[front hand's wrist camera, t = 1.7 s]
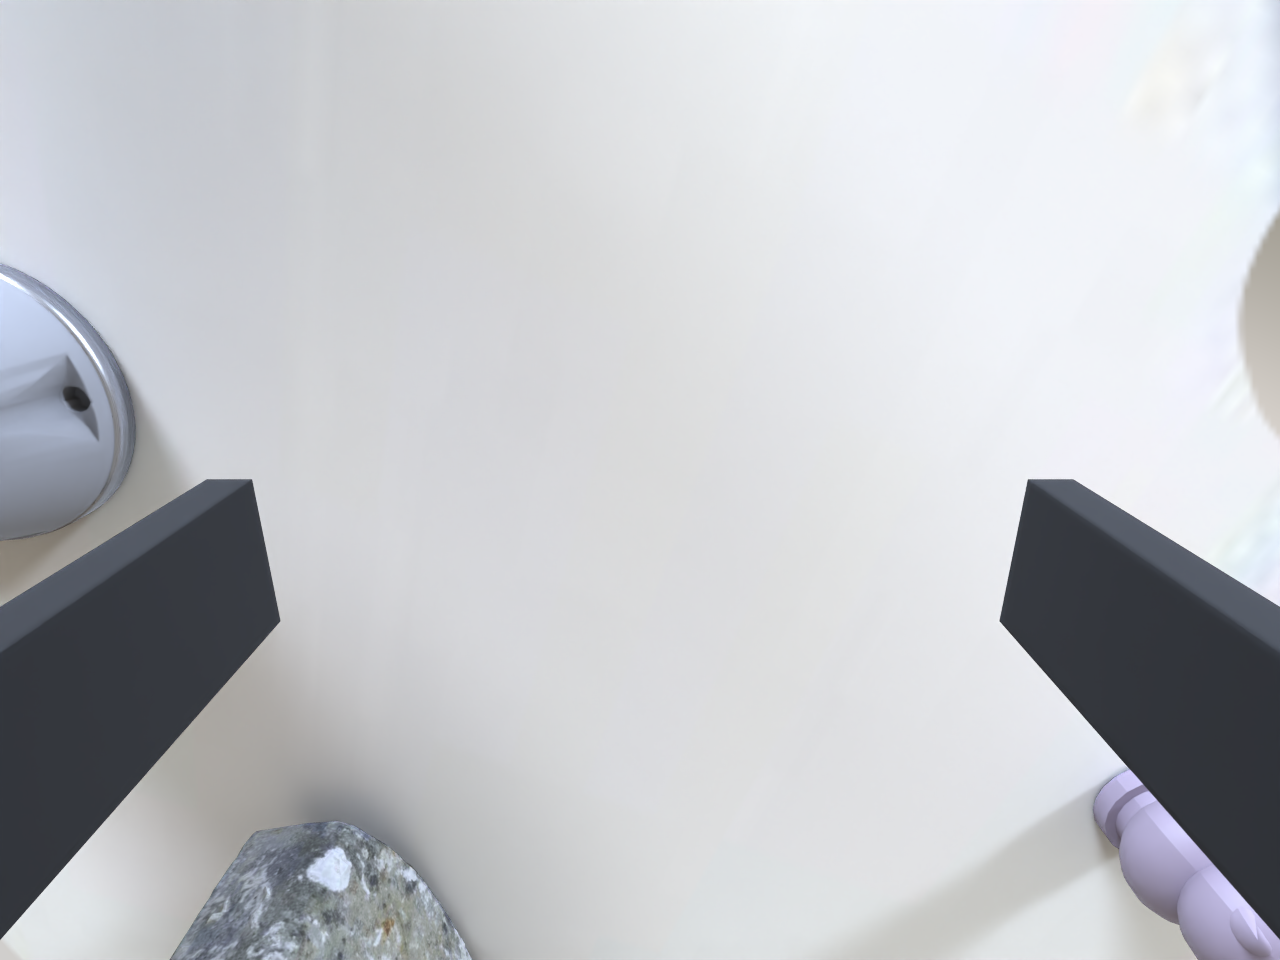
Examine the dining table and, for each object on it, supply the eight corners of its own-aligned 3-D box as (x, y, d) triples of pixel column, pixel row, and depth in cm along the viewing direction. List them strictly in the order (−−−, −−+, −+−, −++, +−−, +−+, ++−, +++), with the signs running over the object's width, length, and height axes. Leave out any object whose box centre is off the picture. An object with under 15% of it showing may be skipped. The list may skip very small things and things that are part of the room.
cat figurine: (1217, 825, 49) (1387, 1008, 38) (1103, 866, 50) (1234, 1053, 39) (1186, 735, 46) (1359, 902, 35) (1067, 780, 48) (1196, 954, 37)
